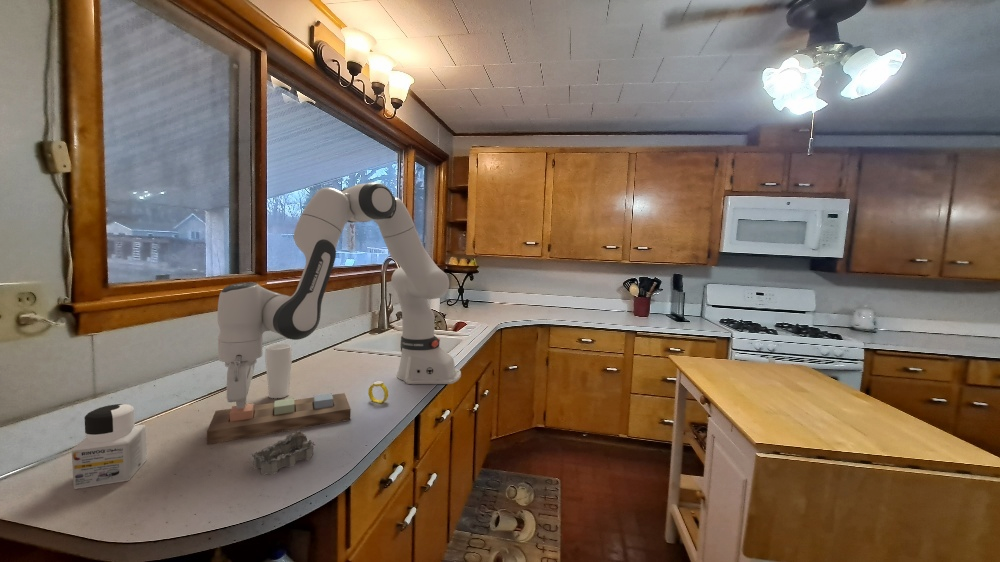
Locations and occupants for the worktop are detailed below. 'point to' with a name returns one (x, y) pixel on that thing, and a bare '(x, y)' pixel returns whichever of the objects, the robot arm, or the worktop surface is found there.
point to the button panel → (277, 419)
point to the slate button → (323, 401)
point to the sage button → (284, 406)
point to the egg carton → (272, 455)
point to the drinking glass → (278, 369)
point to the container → (109, 447)
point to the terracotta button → (242, 413)
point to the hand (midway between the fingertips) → (241, 406)
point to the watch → (380, 383)
